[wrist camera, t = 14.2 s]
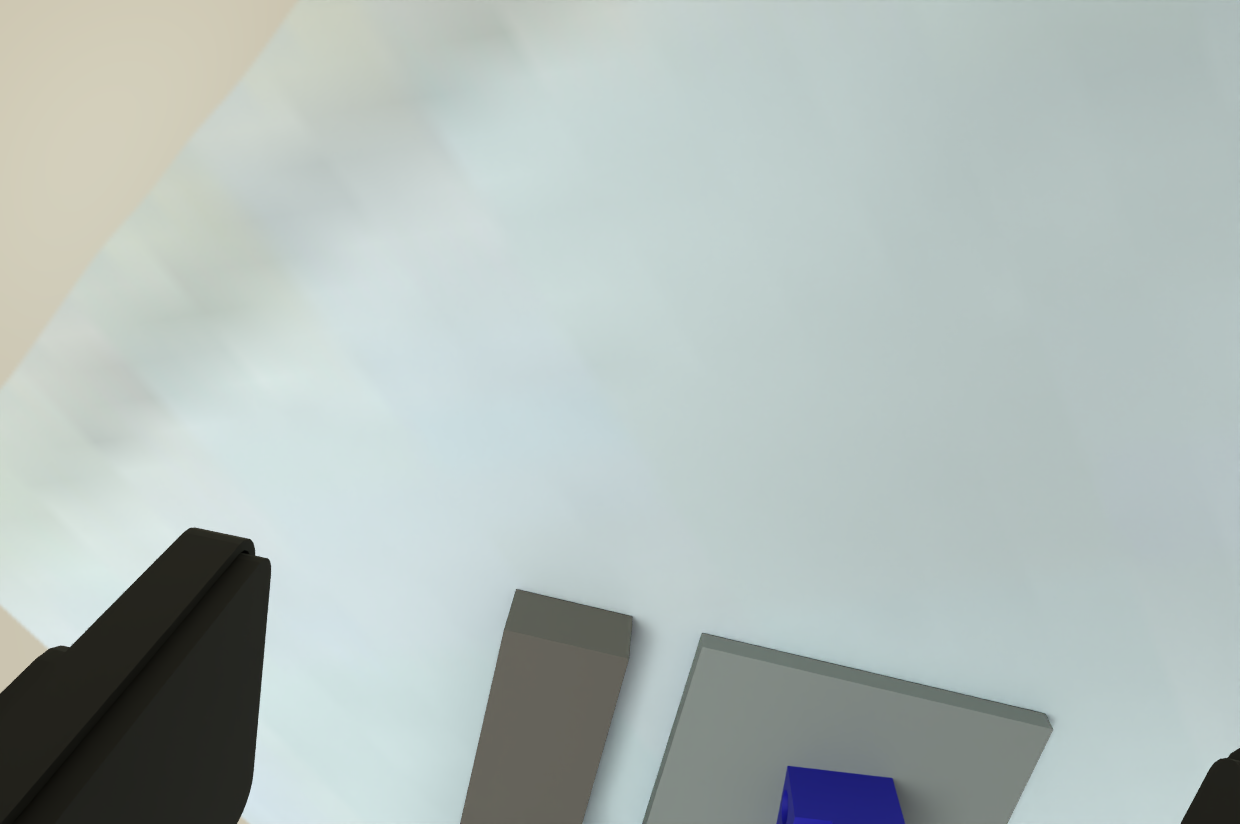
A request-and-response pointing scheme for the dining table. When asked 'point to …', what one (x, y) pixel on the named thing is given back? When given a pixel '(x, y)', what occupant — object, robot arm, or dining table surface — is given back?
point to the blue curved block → (837, 798)
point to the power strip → (547, 712)
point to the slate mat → (835, 740)
